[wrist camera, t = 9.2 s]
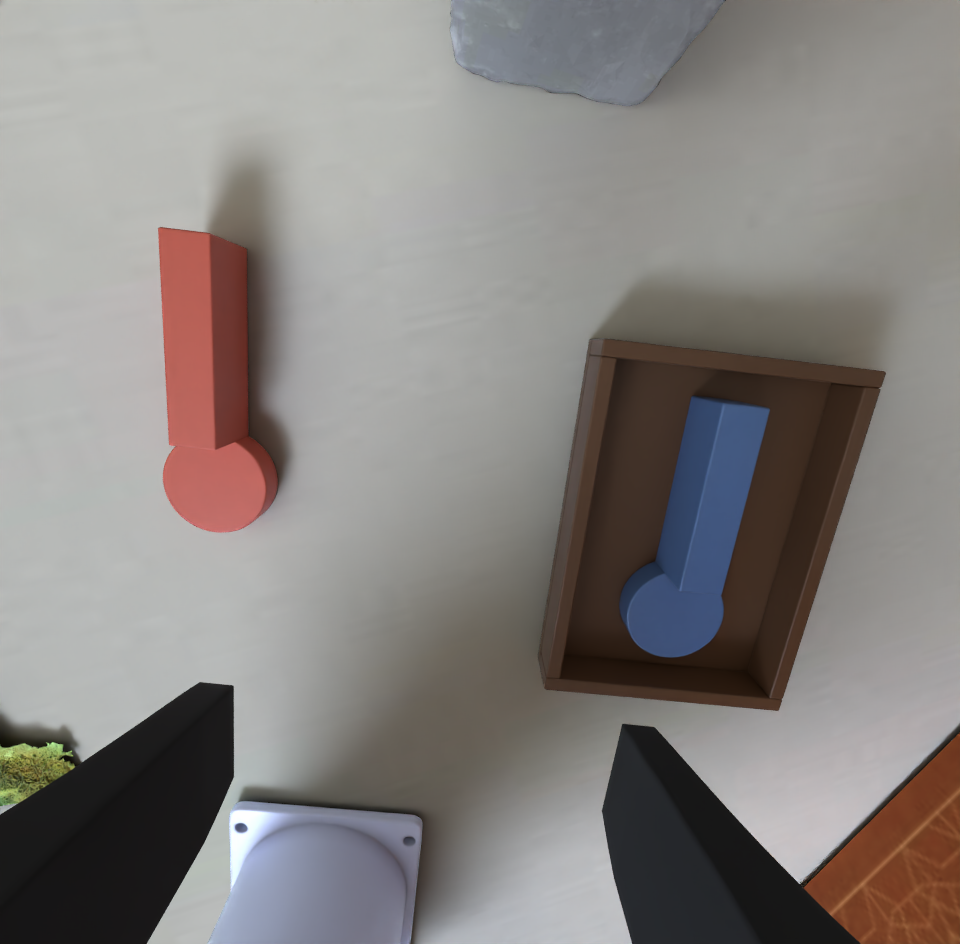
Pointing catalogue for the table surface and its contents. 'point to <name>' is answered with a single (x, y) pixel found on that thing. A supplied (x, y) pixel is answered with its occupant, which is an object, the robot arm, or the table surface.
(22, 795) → the moss
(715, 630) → the blue spoon
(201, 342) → the terracotta spoon
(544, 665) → the tray
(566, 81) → the mineral specimen
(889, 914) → the book
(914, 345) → the table surface
